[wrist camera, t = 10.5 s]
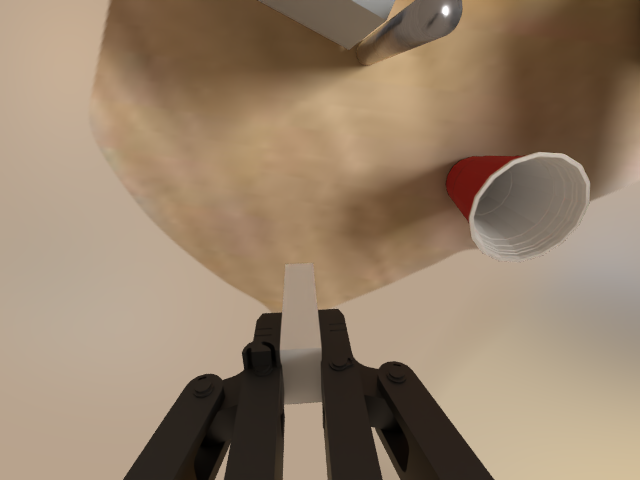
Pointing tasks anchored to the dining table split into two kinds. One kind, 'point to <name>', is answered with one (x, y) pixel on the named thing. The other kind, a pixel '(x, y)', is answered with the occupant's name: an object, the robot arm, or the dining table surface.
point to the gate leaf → (336, 17)
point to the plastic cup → (520, 202)
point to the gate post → (410, 29)
